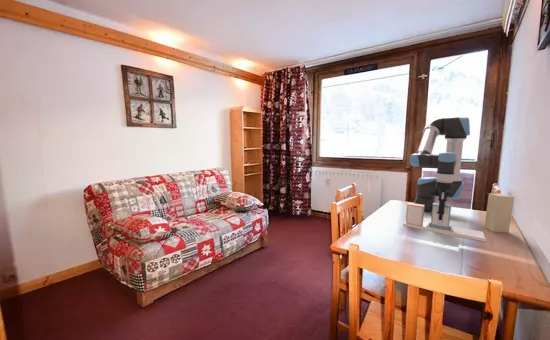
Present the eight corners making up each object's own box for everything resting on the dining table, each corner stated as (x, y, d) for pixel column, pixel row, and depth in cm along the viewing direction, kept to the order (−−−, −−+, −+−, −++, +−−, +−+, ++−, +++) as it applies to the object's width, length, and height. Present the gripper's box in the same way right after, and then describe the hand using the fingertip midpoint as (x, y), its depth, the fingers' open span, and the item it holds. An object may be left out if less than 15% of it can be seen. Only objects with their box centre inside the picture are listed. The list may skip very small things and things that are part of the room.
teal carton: (431, 223, 138) (433, 202, 136) (448, 226, 133) (451, 205, 132) (430, 225, 134) (432, 204, 132) (448, 229, 129) (451, 206, 128)
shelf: (407, 220, 153) (407, 215, 152) (482, 234, 132) (483, 228, 132) (402, 227, 140) (403, 222, 140) (485, 244, 119) (486, 237, 119)
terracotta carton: (406, 222, 145) (408, 202, 143) (422, 225, 140) (424, 204, 139) (405, 224, 141) (407, 204, 139) (421, 227, 136) (423, 206, 135)
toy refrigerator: (498, 230, 139) (503, 193, 136) (509, 235, 132) (514, 196, 129) (482, 229, 140) (487, 193, 137) (492, 234, 133) (497, 196, 130)
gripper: (437, 178, 140) (432, 218, 143) (434, 183, 125) (430, 227, 128) (453, 180, 135) (448, 221, 138) (453, 184, 121) (448, 230, 124)
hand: (439, 224), depth 133 cm, fingers closed on teal carton, 5 cm apart
